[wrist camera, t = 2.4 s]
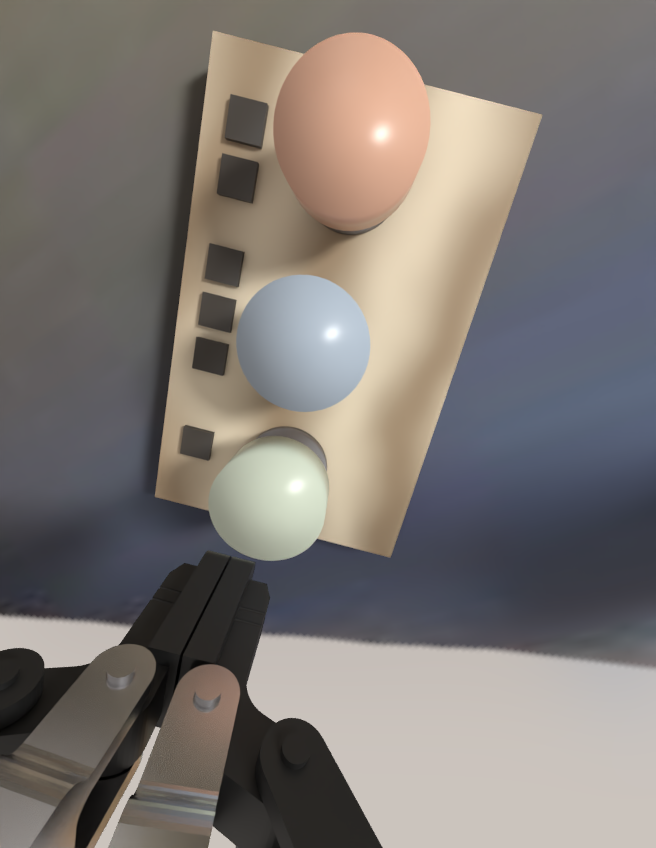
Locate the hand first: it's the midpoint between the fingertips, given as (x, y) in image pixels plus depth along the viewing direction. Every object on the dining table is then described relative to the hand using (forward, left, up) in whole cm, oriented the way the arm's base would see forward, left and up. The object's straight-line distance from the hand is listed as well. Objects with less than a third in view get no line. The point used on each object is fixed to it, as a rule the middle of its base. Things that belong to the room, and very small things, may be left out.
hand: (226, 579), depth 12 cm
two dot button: (0, -14, -7) cm, 16 cm away
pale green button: (0, 0, -7) cm, 7 cm away
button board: (0, -7, -12) cm, 14 cm away
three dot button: (0, -7, -7) cm, 10 cm away
